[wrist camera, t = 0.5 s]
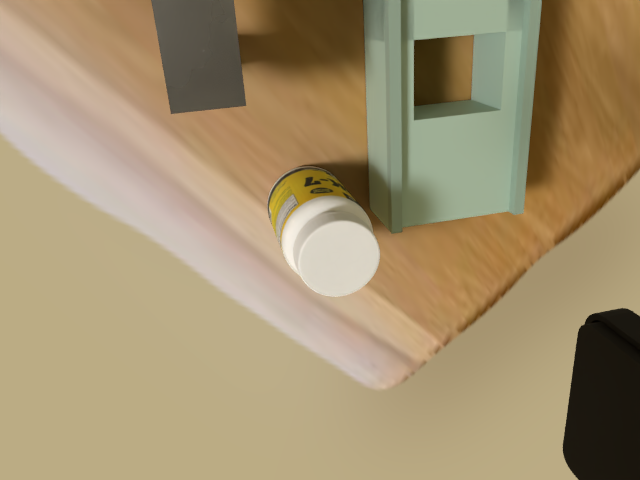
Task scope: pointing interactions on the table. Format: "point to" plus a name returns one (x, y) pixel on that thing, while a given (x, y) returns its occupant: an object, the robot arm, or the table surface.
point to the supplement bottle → (323, 231)
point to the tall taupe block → (199, 54)
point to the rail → (449, 111)
